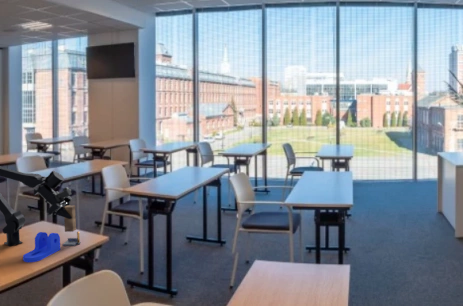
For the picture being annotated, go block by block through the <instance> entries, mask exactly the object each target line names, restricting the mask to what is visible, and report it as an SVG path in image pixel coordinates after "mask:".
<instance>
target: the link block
mask: <svg viewBox="0 0 463 306" xmlns="http://www.w3.org/2000/svg"><path fill="white" fill-rule="evenodd" d="M65 209H66V211H67V212H68V213H69V214H70V216H71V217H72V218H71V219H68V218H65V217H63V218H64V232H67V233H68V232H69V233H71V232H72V233H73V232H75V231H76V230H77V222H76V221H77V219H76V216H77V215H76V205H71V204H70V205H67V206H65Z"/></svg>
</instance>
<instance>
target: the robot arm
mask: <svg viewBox="0 0 463 306" xmlns="http://www.w3.org/2000/svg"><path fill="white" fill-rule="evenodd" d="M0 177H2V178H6V179H9V180H13V181H17V182H20V183H22V184H23V185H24V186H26V187H28V188H33V196H36V195H38V194H39V195H40V196H41V197H42V198H43V199H44V200H45V201H44V202H45V203H46V204H49V205H50V207H48V209H47V210H46V213H47V214H48V215H49V216H52V215H55V216H56V215H57V216H58V217H59V216H60V217H62V218H64V217H65V218H68V219H71V218H72V217H71V216H70V214H69V213H68V212H67V211H66V209H65V206H67V205H71V201H72V200H73V197H71V195H73V194H72V189H70V187H68V186H67V187H64V188H62V191H61V192H59V191H58V190H57V191H55V190H54V189H57V188H58V186H59V185H61V184H62V183H63V181H65V178H64V176H63V175H62V174H60V173H59V172H57V171H55V170H52V171H51V172H50V173H49V174H48V176H42V175H41V174H38V173H31V172H29V173H25V172H21V171H17V170H13V169H10V168H7V167H3V166H1V165H0ZM36 187H37V188H36ZM34 188H35V189H34ZM0 212H1V214H2V215H3V218H4V222H5V226H4V227H3V228H2V232H3V235H4V234H5V235H6V241H5V242H4V245H6V246H9V247H12V246H17V245H20V244H23V243H24V242H23V241H22V240H21V237H20V235H21V234H20V230H22V228H23V226H24V225H25V223H26V219H25V215H23V213H22V212H21V210H15V209H13V207H12V206H11V205H10V204H9V202H8V201H7V199H5V197H4V196H3V194H2V192H0Z"/></svg>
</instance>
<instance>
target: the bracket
mask: <svg viewBox="0 0 463 306" xmlns="http://www.w3.org/2000/svg"><path fill="white" fill-rule="evenodd" d="M59 251H61V237H60V234H59V233H56V232H50V233H49V234H48V233H47V232H44V231H38V233H37V234H36V235H35V238H34V249H32V250H31V251H29V252H27V253H24V254H23V256H22V261H23V262H25V263H35V262H36V263H37V262H40V261H42V260H43V259H45V258H48V257H49V256H51V255H53V254H56V253H58V252H59Z"/></svg>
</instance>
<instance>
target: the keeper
mask: <svg viewBox="0 0 463 306" xmlns="http://www.w3.org/2000/svg"><path fill="white" fill-rule="evenodd" d="M80 243H82V242H81V240H80V231H77V232H76V237H68V238H67V240H65V242H64V243H62V246H64V247H75V246H77V245H81V244H80Z"/></svg>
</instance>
